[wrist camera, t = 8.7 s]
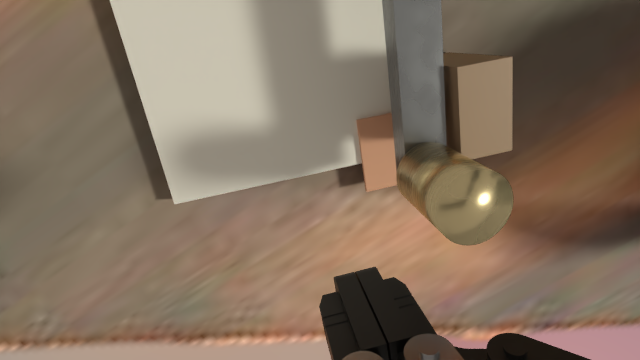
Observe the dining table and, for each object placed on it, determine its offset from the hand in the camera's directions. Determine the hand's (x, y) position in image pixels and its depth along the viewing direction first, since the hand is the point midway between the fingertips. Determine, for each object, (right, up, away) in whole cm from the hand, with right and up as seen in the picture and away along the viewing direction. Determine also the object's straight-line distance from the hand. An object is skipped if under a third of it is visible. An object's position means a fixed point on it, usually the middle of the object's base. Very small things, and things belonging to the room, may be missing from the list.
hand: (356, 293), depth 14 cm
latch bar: (+3, +11, +8) cm, 14 cm away
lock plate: (-3, +12, +11) cm, 16 cm away
